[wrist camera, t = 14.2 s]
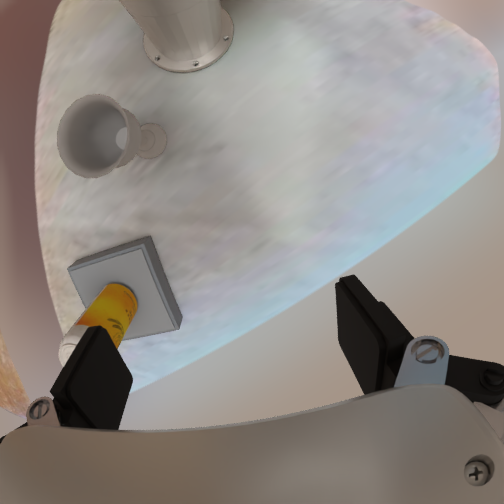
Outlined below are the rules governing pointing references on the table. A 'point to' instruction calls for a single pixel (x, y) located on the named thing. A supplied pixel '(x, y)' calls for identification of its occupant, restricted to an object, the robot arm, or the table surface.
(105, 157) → the chalice
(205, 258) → the table surface
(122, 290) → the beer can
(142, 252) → the plinth
